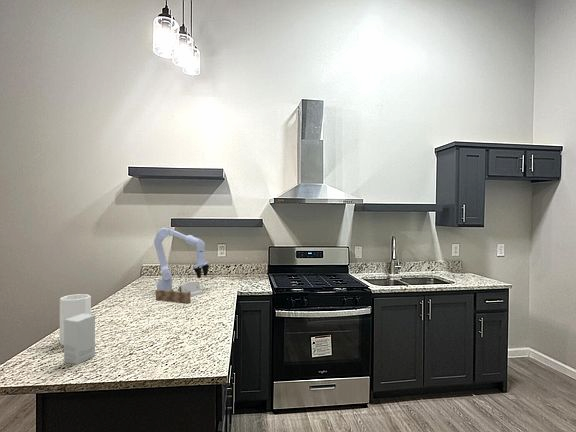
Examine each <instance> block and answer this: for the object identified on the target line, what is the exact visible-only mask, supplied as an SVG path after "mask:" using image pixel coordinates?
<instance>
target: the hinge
mask: <svg viewBox="0 0 576 432" xmlns="http://www.w3.org/2000/svg"><path fill="white" fill-rule="evenodd" d="M177 289H178V292H188V291H190V293H191V298H192V297H197V296H201V295H203V294H204V291H203V290H202V288H201V286H200V283H199V282H198V281H187V282H185V283H182V284H180V285H179V286H178V288H177Z"/></svg>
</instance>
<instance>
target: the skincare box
mask: <svg viewBox="0 0 576 432" xmlns="http://www.w3.org/2000/svg"><path fill="white" fill-rule="evenodd" d="M95 345H96V315H95V314H92V313H91V314H79V315H77V316H74V317H71V318H68V319H65V320H64V346H63V362H64V363H67V364H73V365H79V364H81V363H83V362H86V361H87V360H89V359H91V358H93V357H95V356H96V346H95Z"/></svg>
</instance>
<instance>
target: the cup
mask: <svg viewBox="0 0 576 432" xmlns="http://www.w3.org/2000/svg"><path fill="white" fill-rule="evenodd" d="M91 307H92V296H91V295H89V294H86V293H85V294H84V293H83V294H80V293H78V294H69V295H65V296H61V297H60V298H59V344H60V345H61V346H63V347H64V320H65V319H68V318H71V317H74V316H77V315H79V314H91V315H92V308H91Z"/></svg>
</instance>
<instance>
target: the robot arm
mask: <svg viewBox="0 0 576 432" xmlns="http://www.w3.org/2000/svg"><path fill="white" fill-rule="evenodd" d="M173 236H174V237H176V238H179V239H181V240H184V243H186V244H188V245H190V246H193V247H196V264H195V265H194V266H193V271H194V272H195V274H196V277H197V279H201V278H202V273H203V276H204V277H207V276H208V272H209V268H210V263H209V261H206V250H205V249H206V248H205V246H206V243H205V242H204V240H203V239H200V237H195V236H194V235H193V234H188V235H186V234H184V233H181V232H178V231H176V230H175V229H173V228H172V229H171V228H167V227H163V226H162V227H160V229H159V230H158V231H157V233H156V235H155V238H154V240H153V243H154V247H155V251H156V255H157V258H158V261H159V265H160V269H161V279H158V281H157V283H156V290H167V291H169V290H173V278H172V276H173V275H172V271H171V269H170V268H169V265H168V262H167V257H166V255H165V251H164V246H163V243H162V242H163V241H164V240H165V239H166V237H173Z"/></svg>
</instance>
